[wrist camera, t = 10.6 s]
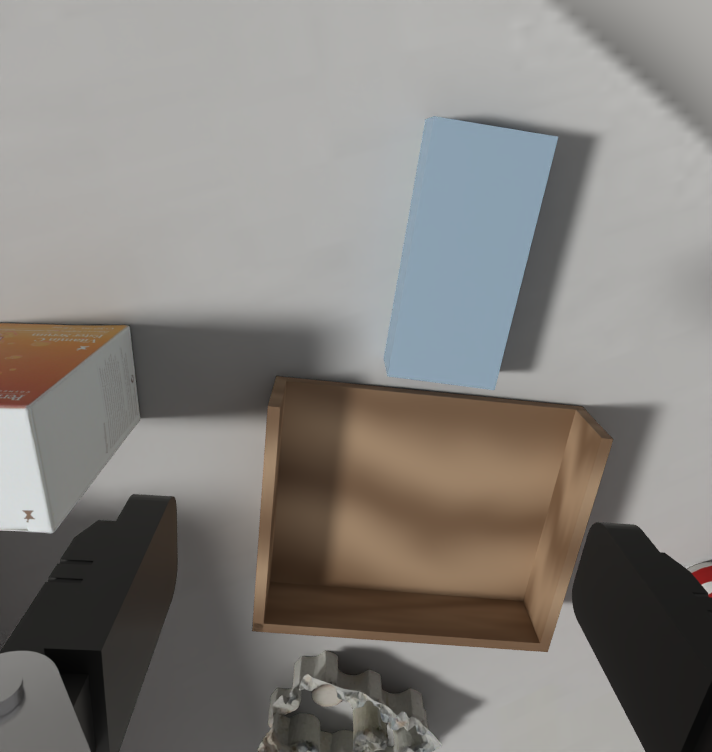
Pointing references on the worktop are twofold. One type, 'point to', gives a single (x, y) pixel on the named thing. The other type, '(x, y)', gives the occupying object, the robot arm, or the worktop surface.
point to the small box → (60, 416)
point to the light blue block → (465, 250)
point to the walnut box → (421, 514)
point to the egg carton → (369, 736)
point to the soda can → (703, 575)
